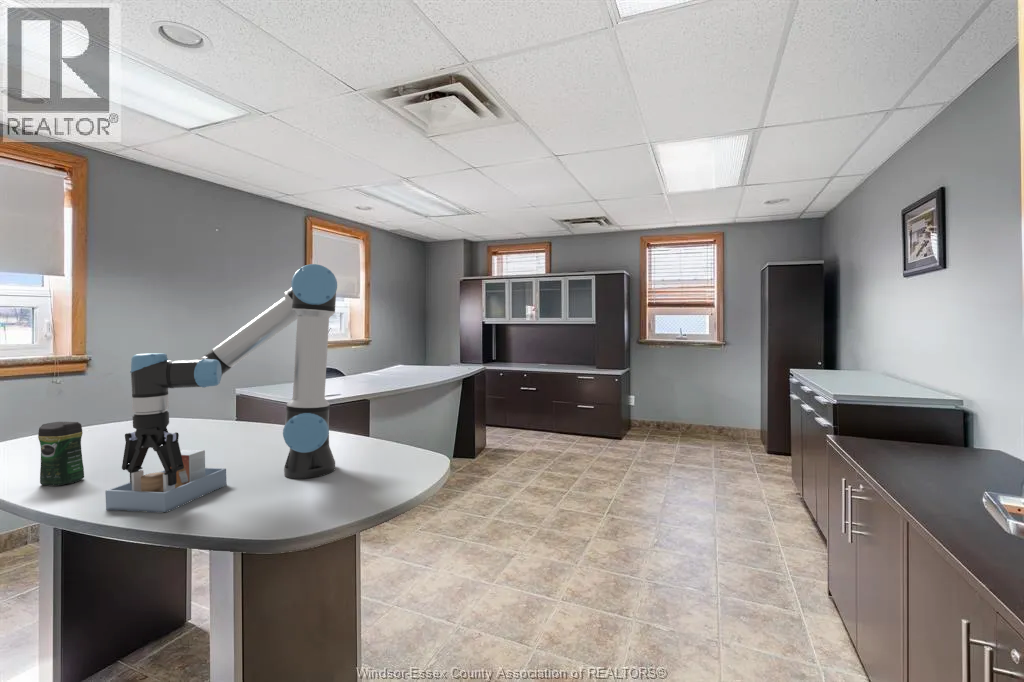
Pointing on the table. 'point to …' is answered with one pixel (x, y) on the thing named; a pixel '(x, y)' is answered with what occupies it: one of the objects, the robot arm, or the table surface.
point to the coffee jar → (60, 453)
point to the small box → (191, 466)
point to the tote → (164, 494)
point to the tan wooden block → (152, 482)
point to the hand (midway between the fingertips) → (153, 496)
